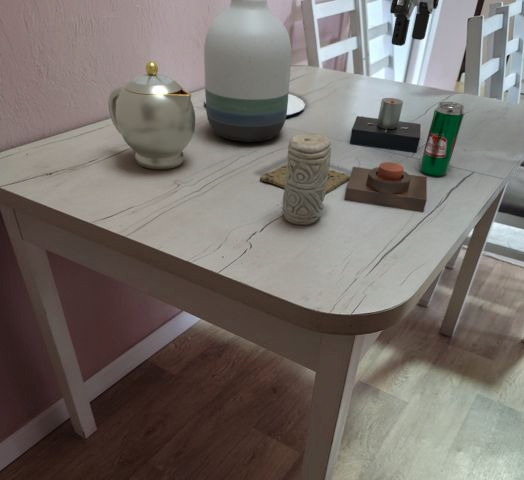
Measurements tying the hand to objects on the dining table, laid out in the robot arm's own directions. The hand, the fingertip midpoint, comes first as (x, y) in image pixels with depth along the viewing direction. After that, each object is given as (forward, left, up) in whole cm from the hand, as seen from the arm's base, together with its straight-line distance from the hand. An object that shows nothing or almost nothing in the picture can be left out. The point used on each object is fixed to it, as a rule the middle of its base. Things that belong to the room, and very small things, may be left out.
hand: (408, 42), depth 84 cm
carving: (+11, +32, -20) cm, 39 cm away
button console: (-1, +18, -20) cm, 27 cm away
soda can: (-9, +4, -20) cm, 23 cm away
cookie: (+13, +17, -20) cm, 29 cm away
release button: (-1, +19, -16) cm, 26 cm away
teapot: (+42, +18, -20) cm, 50 cm away
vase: (+30, -3, -20) cm, 36 cm away
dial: (+1, -11, -17) cm, 20 cm away
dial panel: (+1, -11, -20) cm, 23 cm away
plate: (+34, -25, -20) cm, 47 cm away
